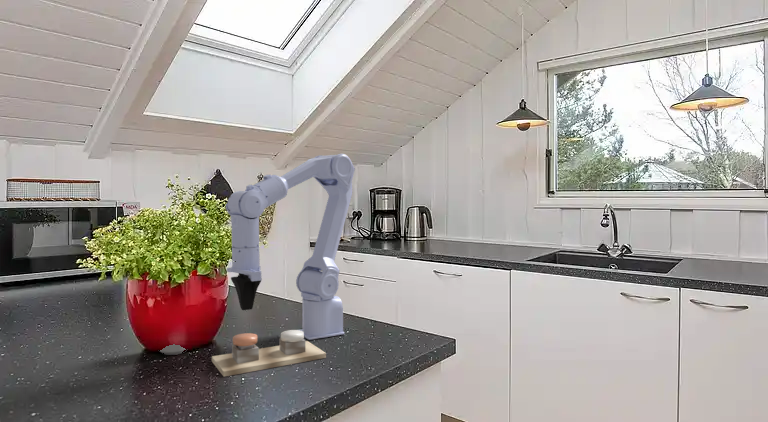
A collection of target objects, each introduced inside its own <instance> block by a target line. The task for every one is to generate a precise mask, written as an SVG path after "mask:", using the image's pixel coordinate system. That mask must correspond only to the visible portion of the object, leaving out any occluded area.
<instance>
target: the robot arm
mask: <svg viewBox="0 0 768 422" xmlns="http://www.w3.org/2000/svg"><path fill="white" fill-rule="evenodd" d="M355 170H356V168H355V166H354V164H353V162H352V160H351V158H350V157H349V156H348V155H347V154H345V153H339V154H329V155H327V154H326V155H315V157H312V158H308V159H307V160H306V161H304V162H303V163H301V164H299V165H298V166H296V167H294V168H293V169H291V170H289V171H288V172H286V173H285V174H283V175H281V176H280V175H277V174H265V175H263V177H262V178H263V179H262V180H260V181H258V182H257V183H254V184H247V185H246V189H245V190H237V191H234V192H233V193H232V194H231V195H230V196H229V197H228V199H227V203H225V209H226V211H227V213H228V214H229V216H230V223H231V266H230V267H226V272H227V273H235V274H238V275H236V276H231V277H230V280H231V282H232V283H233V286H234V288H235V290H236V293H237V295H236V296H237V298H238V303H239V306H240V310H242V311H249V310H250V311H251V310H253V307H254V303H255V298H256V295H257V290H258V288H259V286H260V284H261V282H262V280H263V279H262V270H261V269H262V268H261V265H260V260H261V259H260V216H261V215H262V214H263V213H264V211H265V209H267V208H268V207H270V206H272V205H274V204H275V203H278V202H279V201H281V200H282V199H284V198H285V197H287V195H288V191H289V189H291V188H293V187H296V186H298V185H299V184H302V183H304V182H306V181H308V180H310V179H312V178H314V179H315V181H317V182H318V184H319V185H320V186H322V187H323V189H324V191H326V192H327V194H328V195H327V196H328V198H327V202H326V205H325V209H324V213H323V216H322V221H321V224H320V227H319V230H318V235H317V239H316V241H315V245H314V249H313V253H312V256H311V257H310V258H308V259H307V260H306V261H305V262H304V263H303V267H302V269H301V270H300V271H299V273H298V274H297V276H296V280H295V282H296V283H295V284H296V288H297V290H298V292H300V296H301V298H302V300H301V301H302V303H301V304H302V305H301V308H302V312H301V313H302V316H301V317H302V329H299V330H300V331H303V332H304V339H307V341H308V340H310V341H311V340H317V339H323V338H328V337H334V336H340V335H341V336H342V335H345V331H344V307H343V301H342V299H341V298H340V297H339V296H338V295H336V294H337V292H338V290H339V286H340V285H339V282H340V281H339V276H340V275H339V274H340V269H339V267H338V265H337V264H336V262H335V260H336V256H337V252H338V249H339V245H340V241H341V238H342V233H343V230H344V226H345V222H346V219H347V215H348V211H349V207H350V203H351V200H352V196H353V177H354V174H355ZM233 261H234V262H233ZM235 261H236V262H235Z"/></svg>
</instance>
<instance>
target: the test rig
mask: <svg viewBox="0 0 768 422" xmlns="http://www.w3.org/2000/svg"><path fill="white" fill-rule="evenodd" d="M278 341H279V342H278V343H279V345H275V346H268V347H261V348H260V347H258V346H257V345H256V344H253V348H248V349H242V350H239V349H238V346H236V345H233V344H232V345H231V353H226V354H225V353H224V354H219V355H212V356H211V362H212V364H213V365H214V366H215V368H217V370H218V371H219V372H220V374H221V375H222V376H223V377H230V376H235V375H242V374H245V373H251V372H257V371H262V370H267V369H274V368H277V367H283V366H290V365H295V364H300V363H305V362H310V361H311V362H312V361H315V360H316V361H317V360H321V359H326V358H327V352H325V351H323V350H322V349H321V348H319V346H318V347H317V346H316V345H315V344H313V343H311V342H310V341H308V340H306V339H305V338H304V339H303V340H301V341H297V342H284V341H282V340H281V337H279V340H278Z"/></svg>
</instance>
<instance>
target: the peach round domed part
mask: <svg viewBox="0 0 768 422" xmlns="http://www.w3.org/2000/svg"><path fill="white" fill-rule="evenodd" d="M257 343H258V334H256V333H252V332H249V333H248V332H247V333H245V332H244V333H238V334H235V335H234V336H232V345H236V346H238V349H239V350H242V349H248V348H253V344H255V345H256V344H257Z"/></svg>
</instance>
